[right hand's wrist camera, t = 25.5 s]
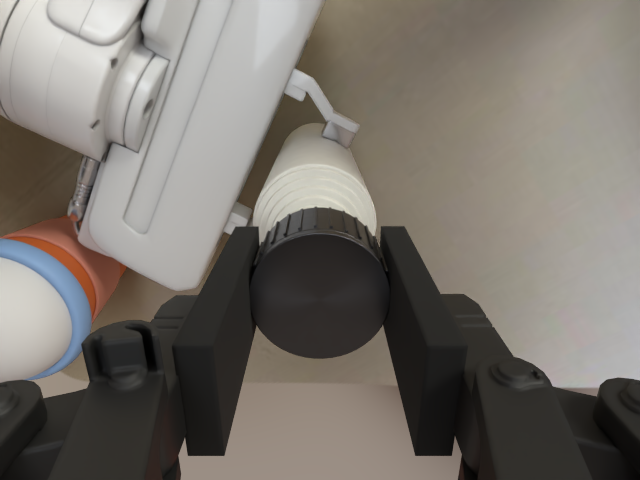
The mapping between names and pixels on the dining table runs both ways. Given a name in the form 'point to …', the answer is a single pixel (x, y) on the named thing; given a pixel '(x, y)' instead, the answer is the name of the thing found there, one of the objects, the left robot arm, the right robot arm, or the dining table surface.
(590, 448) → the right robot arm
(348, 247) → the cap
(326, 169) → the bottle
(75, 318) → the cup with straw
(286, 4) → the left robot arm
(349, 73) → the dining table surface
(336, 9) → the dining table surface
